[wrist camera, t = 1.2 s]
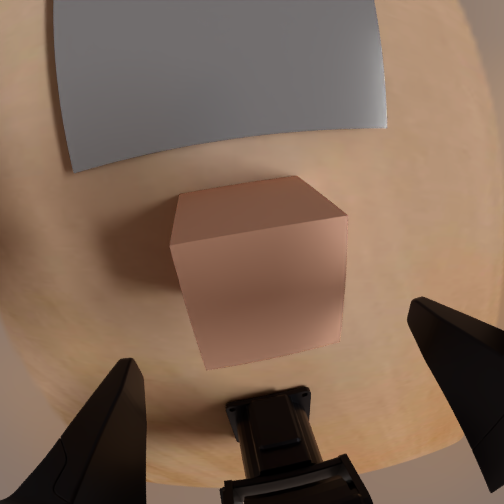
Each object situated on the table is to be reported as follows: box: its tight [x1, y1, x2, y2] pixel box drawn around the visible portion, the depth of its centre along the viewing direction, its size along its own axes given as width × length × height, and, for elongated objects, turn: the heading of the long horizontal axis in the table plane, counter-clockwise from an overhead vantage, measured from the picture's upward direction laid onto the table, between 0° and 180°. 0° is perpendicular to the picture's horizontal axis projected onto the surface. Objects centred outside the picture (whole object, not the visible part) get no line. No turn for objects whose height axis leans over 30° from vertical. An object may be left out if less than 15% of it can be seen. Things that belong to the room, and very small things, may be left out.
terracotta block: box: [169, 176, 348, 370], centre depth 13 cm, size 6×6×6 cm
